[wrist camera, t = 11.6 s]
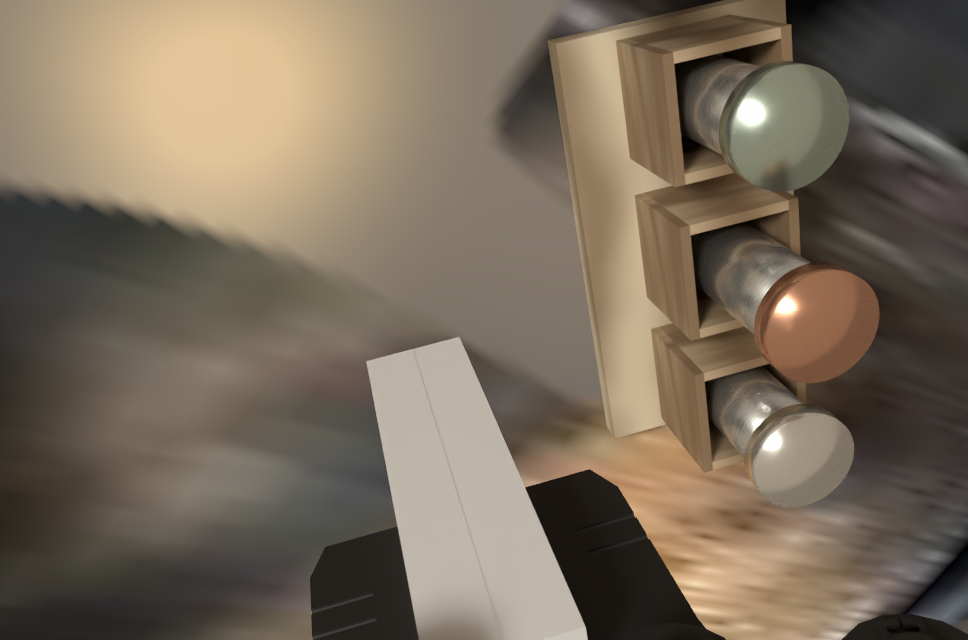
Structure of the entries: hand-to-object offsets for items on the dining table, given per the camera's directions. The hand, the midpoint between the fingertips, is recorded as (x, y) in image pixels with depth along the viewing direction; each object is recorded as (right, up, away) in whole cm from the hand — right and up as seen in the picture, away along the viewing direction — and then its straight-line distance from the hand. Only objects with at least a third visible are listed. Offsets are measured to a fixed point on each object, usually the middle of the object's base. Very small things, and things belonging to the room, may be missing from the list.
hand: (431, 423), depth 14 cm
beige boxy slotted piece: (+12, +7, +36) cm, 38 cm away
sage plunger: (+11, +13, +30) cm, 35 cm away
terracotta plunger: (+13, +5, +32) cm, 34 cm away
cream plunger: (+14, -1, +37) cm, 39 cm away
